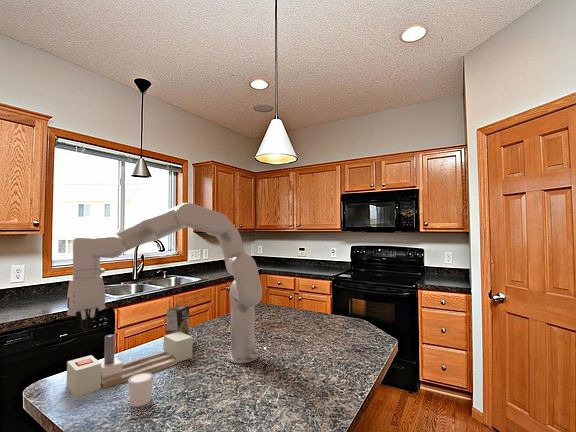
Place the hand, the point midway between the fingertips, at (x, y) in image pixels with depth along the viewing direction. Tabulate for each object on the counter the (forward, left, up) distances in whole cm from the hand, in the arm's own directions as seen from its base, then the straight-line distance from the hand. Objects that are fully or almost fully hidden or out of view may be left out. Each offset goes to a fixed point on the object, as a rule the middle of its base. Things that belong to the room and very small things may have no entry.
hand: (87, 330), depth 102 cm
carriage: (0, -7, -16) cm, 17 cm away
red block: (0, +1, -14) cm, 14 cm away
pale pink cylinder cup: (-22, -8, -19) cm, 30 cm away
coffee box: (+13, -39, -19) cm, 46 cm away
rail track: (0, -16, -18) cm, 24 cm away
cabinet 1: (0, +1, -18) cm, 18 cm away
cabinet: (0, -32, -18) cm, 37 cm away
